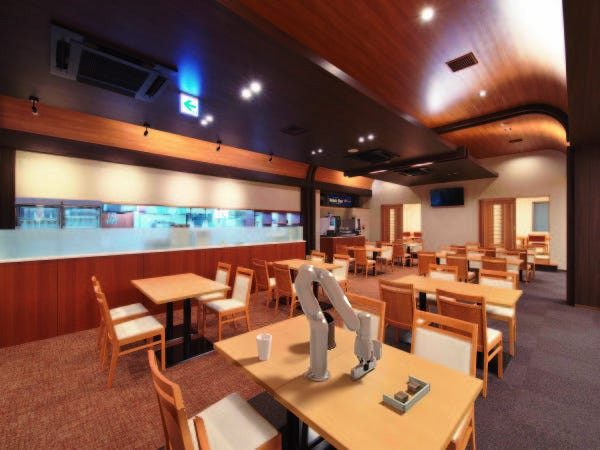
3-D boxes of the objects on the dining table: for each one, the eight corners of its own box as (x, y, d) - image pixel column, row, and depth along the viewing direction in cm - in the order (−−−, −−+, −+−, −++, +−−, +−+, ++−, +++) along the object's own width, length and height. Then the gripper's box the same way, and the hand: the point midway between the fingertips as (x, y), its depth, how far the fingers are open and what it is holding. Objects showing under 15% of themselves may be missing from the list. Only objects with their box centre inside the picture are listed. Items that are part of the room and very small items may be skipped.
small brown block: (414, 394, 131) (414, 388, 131) (407, 390, 134) (407, 384, 134) (420, 390, 134) (420, 384, 134) (413, 386, 137) (413, 380, 137)
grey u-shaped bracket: (404, 415, 117) (404, 405, 117) (382, 402, 126) (382, 394, 126) (430, 392, 134) (430, 383, 134) (409, 382, 142) (409, 374, 142)
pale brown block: (379, 359, 165) (380, 342, 165) (369, 356, 169) (369, 340, 169) (382, 357, 168) (382, 340, 168) (371, 353, 172) (371, 338, 172)
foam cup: (272, 354, 170) (272, 333, 170) (271, 361, 161) (271, 339, 161) (257, 354, 170) (257, 333, 170) (255, 362, 161) (255, 340, 161)
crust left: (401, 405, 123) (401, 398, 123) (394, 400, 126) (394, 394, 126) (408, 401, 125) (408, 395, 125) (401, 396, 129) (401, 390, 129)
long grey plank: (354, 380, 141) (354, 371, 141) (350, 378, 143) (350, 369, 143) (376, 365, 154) (376, 357, 154) (372, 364, 156) (372, 355, 156)
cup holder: (336, 339, 193) (336, 304, 193) (337, 355, 169) (337, 315, 169) (310, 338, 195) (310, 303, 195) (307, 354, 171) (307, 314, 171)
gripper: (348, 333, 152) (348, 366, 152) (372, 342, 140) (372, 378, 140) (356, 329, 157) (356, 361, 157) (380, 338, 145) (380, 372, 145)
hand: (364, 369), depth 149 cm, fingers closed on long grey plank, 2 cm apart
